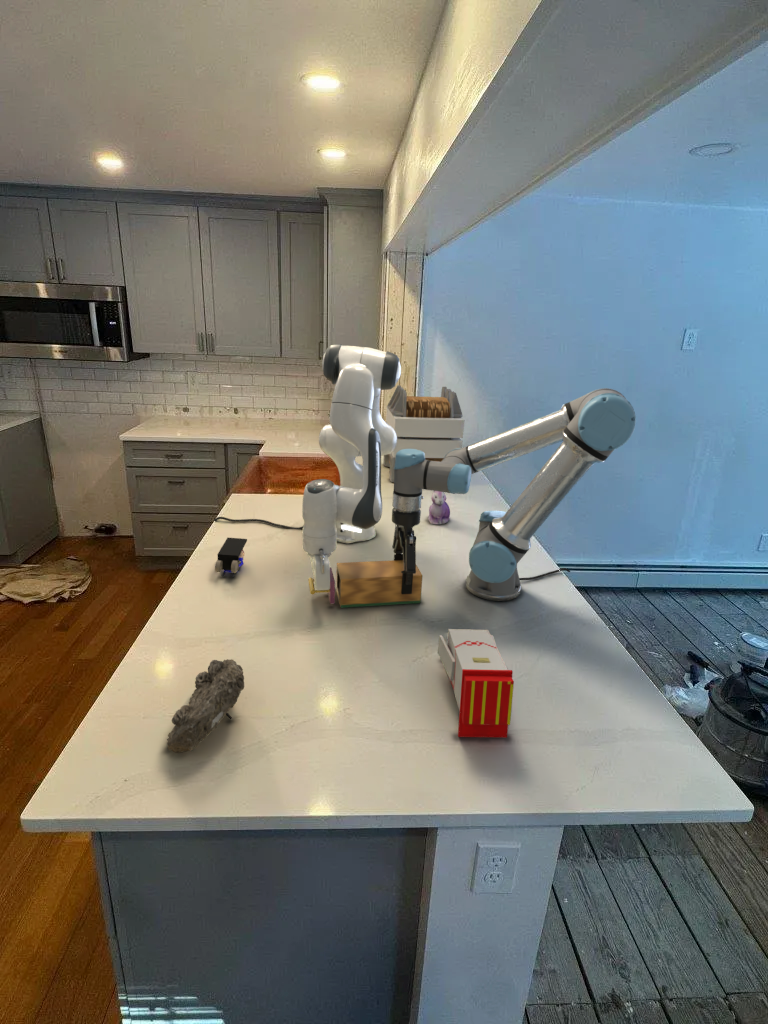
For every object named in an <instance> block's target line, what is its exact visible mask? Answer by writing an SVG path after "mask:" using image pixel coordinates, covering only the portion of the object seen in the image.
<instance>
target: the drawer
mask: <svg viewBox="0 0 768 1024" xmlns="http://www.w3.org/2000/svg"><path fill="white" fill-rule="evenodd" d="M332 568H333V567H332V566H330V588H329V590H321V591H318V590H316V588H315V583H314V577H309V578H307V581H308V587H309V593H310V595H311V596H313V595H315V594H318V593H319V594H323V593H327V595H328V600H329V604H330V605H333V604H334V605H335V604H336V592H337V591H338V595H339V599H340V587H341V580H340V576H339V573H338V569H337V568H336V577H337V591H336V581H335V576H334V572H333V569H332ZM338 595H337V596H338ZM339 599H338V600H339Z"/></svg>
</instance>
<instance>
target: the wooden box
mask: <svg viewBox="0 0 768 1024" xmlns="http://www.w3.org/2000/svg"><path fill="white" fill-rule="evenodd" d="M337 569H338V573H339V576H340V580H341V587H340V599H339V595H338V591H337V576H336V578H335V579H336V581H335V592H336V595H337V600H338V603H339V607H340V608H341V609H343V608H359V607H360V608H361V607H375V606H391V605H395V606H396V605H410V604H421V603H422V602H421V601H422V586H423V573H422V571H421V570H420V568H419V566H418V565H417V564H416V573H415V574H413V583H412V594H401V589H402V573H401V571H404V565H403V560H394V559H393V560H375V561H370V560H369V561H350V562H349V561H348V562H336V570H337Z"/></svg>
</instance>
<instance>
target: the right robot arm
mask: <svg viewBox="0 0 768 1024" xmlns="http://www.w3.org/2000/svg"><path fill="white" fill-rule="evenodd" d="M636 417H637V416H636V412H635V409H634V406H633V405H632V404H631V402H630V401H629V400H628V399H627V398H626V397H625V396H624V394H623V393H621V392H620V391H618V390H616V389H614V388H609V387H608V388H607V387H605V388H604V387H603V388H598V389H594V390H592V391H590V392H588V393H586V394H584V395H582V396H579V397H578V398H575V399H574V400H571V401H569V402H566V403H564V404H562V406H561V408H560V409H559V410H556V411H554V412H551V413H549V414H546V415H544V416H541V417H539V418H537V419H534V420H531V421H528V422H526V423H523V424H520V425H518V426H516V427H513V428H511V429H507V430H506V431H503V432H499V433H497V434H494V435H493V436H490V437H487V438H485V439H482V440H480V441H477V442H474V443H472V444H468V445H467V446H464V447H462V448H461V449H454V450H452V451H450V452H448V453H447V454H446V455H445V457H444V459H443V460H442V461H441V462H439V461H430V460H425V454H424V452H423V451H421V450H417V449H402V450H399V451H398V452H397V453H396V458H395V467H394V482H393V491H392V501H391V503H392V505H391V506H392V510H391V522H392V523H393V524H394V525H395V526H394V534H393V541H392V550H393V553H394V555H393V560H403V565H404V571H401V573H402V589H401V594H412V583H413V574H415V573H416V565H417V557H416V556H417V554H416V552H417V551H416V550H417V548H416V546H417V545H416V544H417V536H416V535H415V530H414V529H413V528H414V527H416V526H418V525H419V524H420V523H421V514H422V510H421V508H422V500H424V496H423V490H426V491H432V492H434V491H440V492H444V493H448V494H452V495H457V494H458V495H466V494H467V493H468V492H469V490H470V486H471V481H472V475H474V474H476V473H478V472H481V471H484V470H486V469H490V468H493V467H495V466H498V465H500V464H503V463H506V462H509V461H511V460H514V459H517V458H520V457H523V456H525V455H529V454H531V453H533V452H536V451H539V450H541V449H545V448H548V447H550V446H553V445H555V444H558V443H560V445H559V446H558V447H557V448H556V449H555V451H554V452H553V453H552V454H551V456H550V457H549V458H548V460H547V461H546V462H545V463H544V464H543V466H542V467H541V468H540V470H539V471H538V472H537V473H536V475H534V477H533V479H532V480H531V481H530V482H529V483H528V485H527V486H526V487H525V488H524V490H523V491H522V492H521V493H520V494H519V496H518V497H517V499H516V500H515V501H514V502H513V504H512V505H511V506H510V507H509V508H508V509H507V510H506V511H503V510H502V511H501V510H485V511H483V512H482V513H480V516H479V519H478V523H479V525H478V532H477V534H476V537H475V539H474V542H473V544H472V547H471V548H470V550H469V553H468V565H469V567H470V572H469V574H468V575H467V576H466V578H465V581H466V584H465V585H466V589H467V590H468V591H469V592H470V593H471V594H472V595H474V596H476V597H477V598H481V599H484V600H487V601H493V602H505V601H506V602H507V601H511V600H514V599H516V598H517V597H519V596H520V594H521V590H522V589H521V588H522V585H521V581H531V580H537V579H540V578H543V577H546V576H549V575H552V574H557V573H559V572H563V571H565V572H567V573H571V570H570V569H569V568H567V567H562V568H559V570H560V571H559V570H558V569H556V570H552V571H549V572H546V573H542V574H539V575H535V576H530V577H520V576H519V570H518V563H519V562H520V561H521V560H522V559H523V557H524V556H525V555H526V554H527V553H528V552H529V551H530V550H531V547H532V543H531V538H532V537H533V536H534V535H535V533H537V531H538V530H539V529H540V527H541V526H543V524H544V523H545V522H546V521H547V519H548V518H549V517H550V516H551V514H552V513H554V511H555V510H556V509H557V507H559V505H560V504H561V503H562V502H563V501H564V499H565V498H566V497H567V496H568V494H569V493H570V492H571V491H572V490H573V489H574V488H575V487H576V485H577V484H578V482H580V481H581V479H582V478H583V477H584V476H585V475H586V473H587V472H588V471H589V470H590V469H591V467H593V465H594V464H599V463H604V462H606V460H607V459H608V458H609V457H610V456H611V454H612V453H614V451H615V450H616V449H619V448H620V447H622V446H623V445H625V444H626V443H627V442H628V441H629V440H630V439H631V437H632V436H633V433H634V431H635V429H636V428H635V427H636V423H637V419H636Z"/></svg>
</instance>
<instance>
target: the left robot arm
mask: <svg viewBox="0 0 768 1024" xmlns="http://www.w3.org/2000/svg"><path fill="white" fill-rule="evenodd" d="M321 365H322V366H321V368H322V373H323V376H324V377H325V379H326V380H328V381H329V382H331V384H332V385H335V386H334V389H333V392H332V393H333V394H332V398H331V404H330V408H329V423H328V424H325V425H323V427H322V428H321V429H320V432H319V435H318V445H319V447H320V449H321V451H322V452H323V453H324V454H325V455H326V456H328V457H329V458H330V459H331V460H332V462H334V464H335V466H336V467H337V470H338V474H339V483H340V484H339V485H338V484H335V483H334V482H333V481H332V480H330V479H327V478H317V479H314V480H311V481H309V482H307V483H306V485H305V487H304V492H303V496H302V509H301V513H302V515H301V516H302V520H303V526H299V527H292V526H288V525H284V524H280V523H275V522H272V521H269V520H265V519H260V518H259V519H258V518H245V519H233V518H232V519H231V518H228V517H225V516H218V517H215V518H214V519H213V520H212V521H213V522H217V521H218V520H224V521H227V522H232V523H244V522H260V523H264V524H268V525H271V526H274V527H278V528H284V529H287V530H289V529H290V530H302V533H301V534H302V537H301V538H302V544H301V545H302V551H304V552H305V553H307V556H308V557H309V560H310V566H311V571H312V578H313V579H314V588H315V590H318V591H321V590H329V588H330V567H331V566H330V564H331V563H330V559H329V558H330V557H331V556H332V554H333V553H334V552H335V551H336V550H337V545H338V544H337V542H339V543H343V544H352V543H357V542H365V541H368V540H372V539H373V538H375V537H376V535H377V532H376V528H375V525H376V524H378V523H379V522H380V520H381V518H382V516H383V498H382V485H381V484H382V456H384V455H387V454H391V453H392V452H393V450H394V449H395V447H396V444H397V435H396V432H395V430H394V429H393V428H392V427H391V426H390V425H389V424H387V423H386V420H384V419H383V417H382V415H381V412H380V403H381V402H380V401H381V392H382V391H387V390H392V389H394V388H395V387H396V384H397V383H398V382H399V380H400V377H401V375H402V374H401V373H402V366H401V362H400V358H399V356H398V355H397V354H395V353H394V352H391V351H388V350H387V351H383V350H382V349H381V350H380V349H376V348H372V347H367V346H358V345H357V346H356V345H343V344H340V343H338V344H331V345H329V346H328V347H327V348H326V350H325V352H324V354H323V356H322V361H321ZM357 457H361V459H362V464H360V463H359V462H357V461H356V459H357Z"/></svg>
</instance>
